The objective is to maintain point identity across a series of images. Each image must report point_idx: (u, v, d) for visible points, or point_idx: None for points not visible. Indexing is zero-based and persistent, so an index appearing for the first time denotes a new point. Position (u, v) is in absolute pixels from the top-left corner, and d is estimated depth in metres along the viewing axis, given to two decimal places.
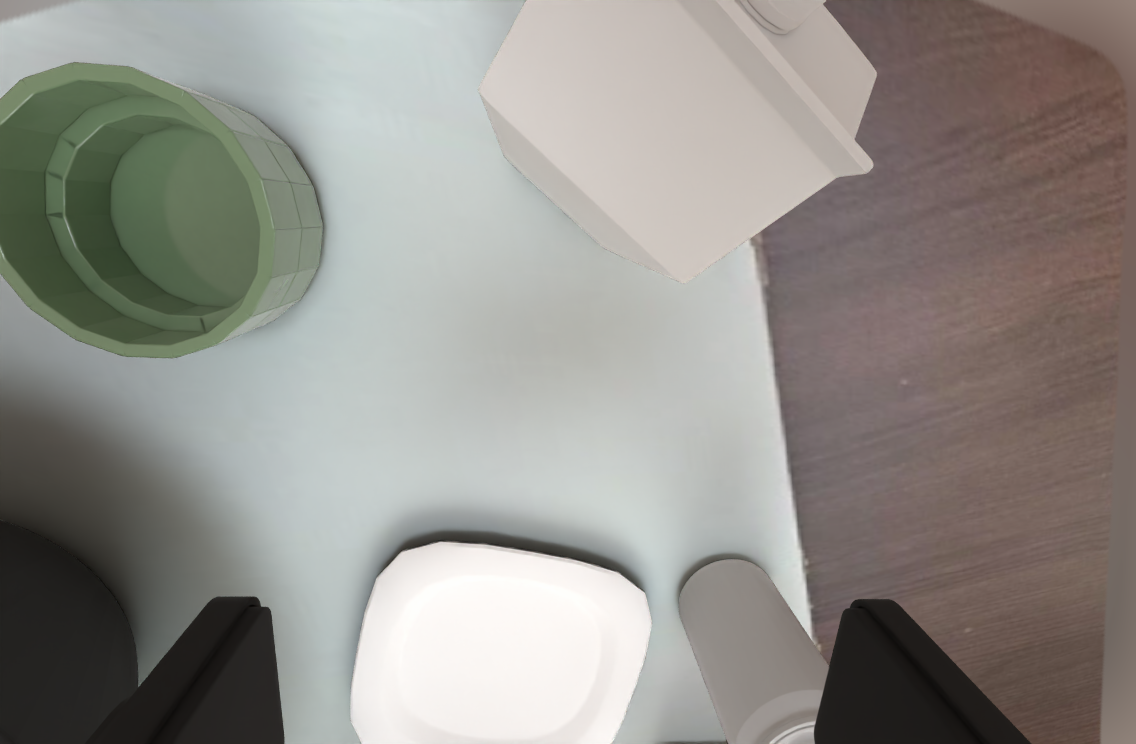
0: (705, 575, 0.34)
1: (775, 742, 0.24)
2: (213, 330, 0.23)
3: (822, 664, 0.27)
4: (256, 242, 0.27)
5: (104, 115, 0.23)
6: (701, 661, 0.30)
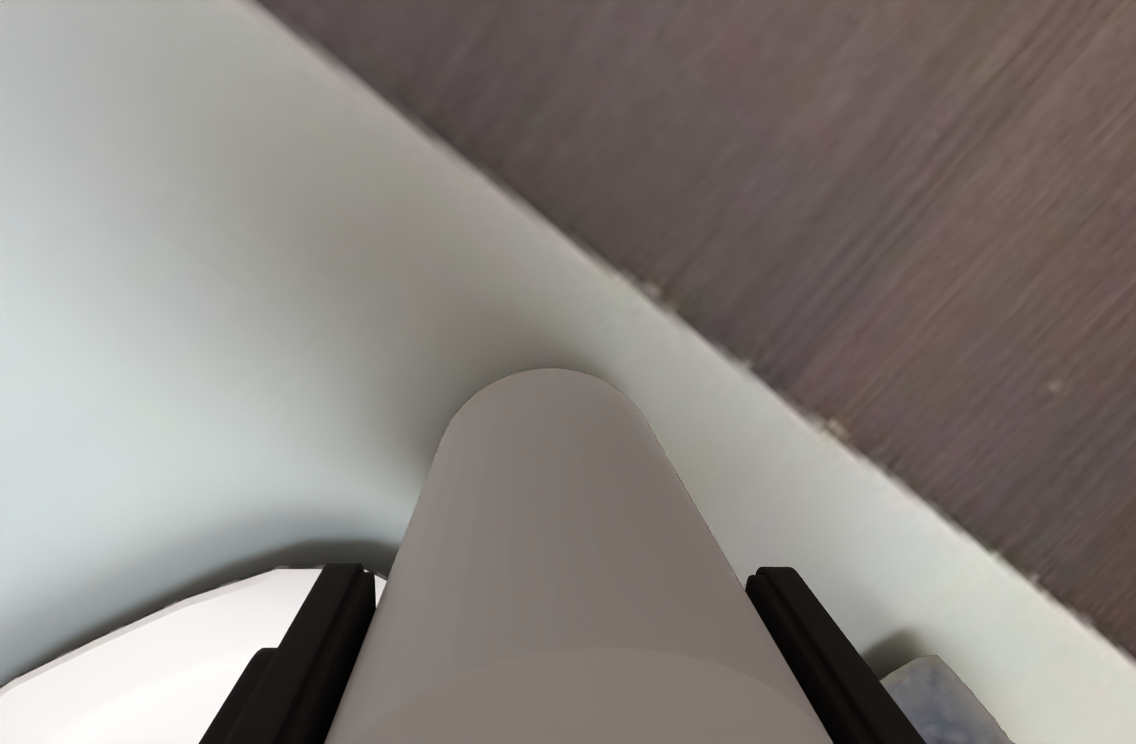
0: None
1: None
2: None
3: (550, 535, 0.07)
4: None
5: None
6: None
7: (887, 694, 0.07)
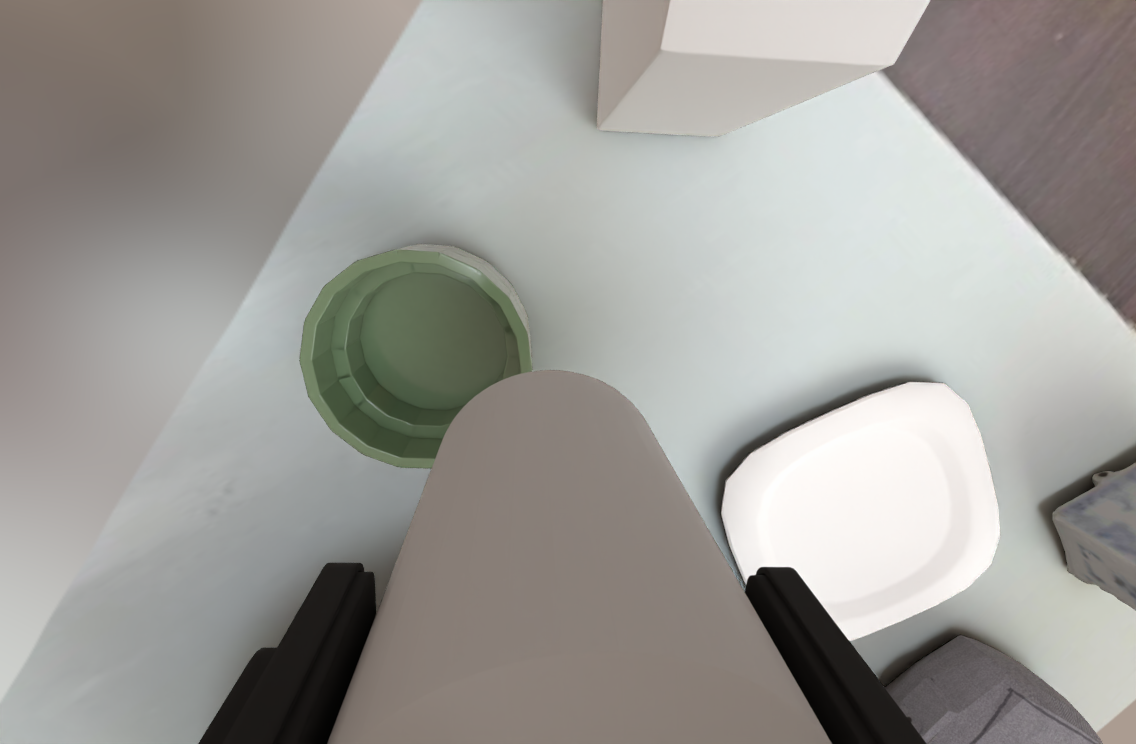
0: None
1: None
2: None
3: (551, 539, 0.07)
4: (476, 330, 0.32)
5: (346, 313, 0.28)
6: None
7: (887, 694, 0.07)
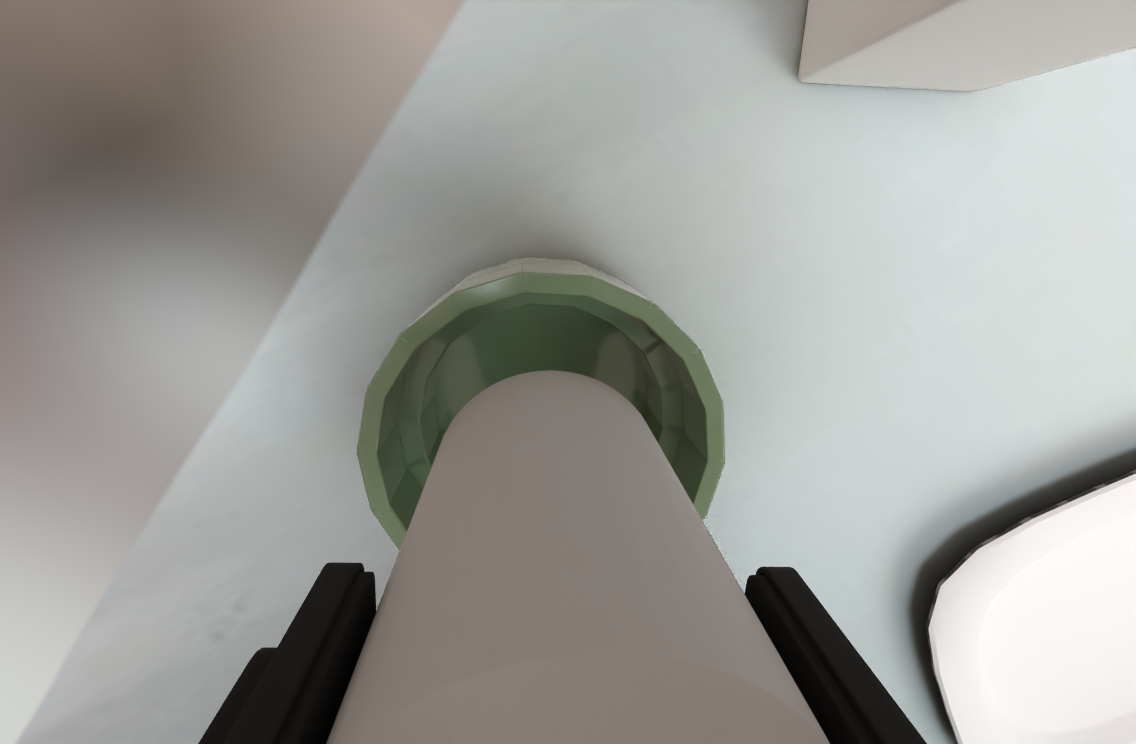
0: None
1: None
2: (694, 504, 0.17)
3: (550, 540, 0.07)
4: None
5: (422, 368, 0.18)
6: None
7: (887, 694, 0.07)
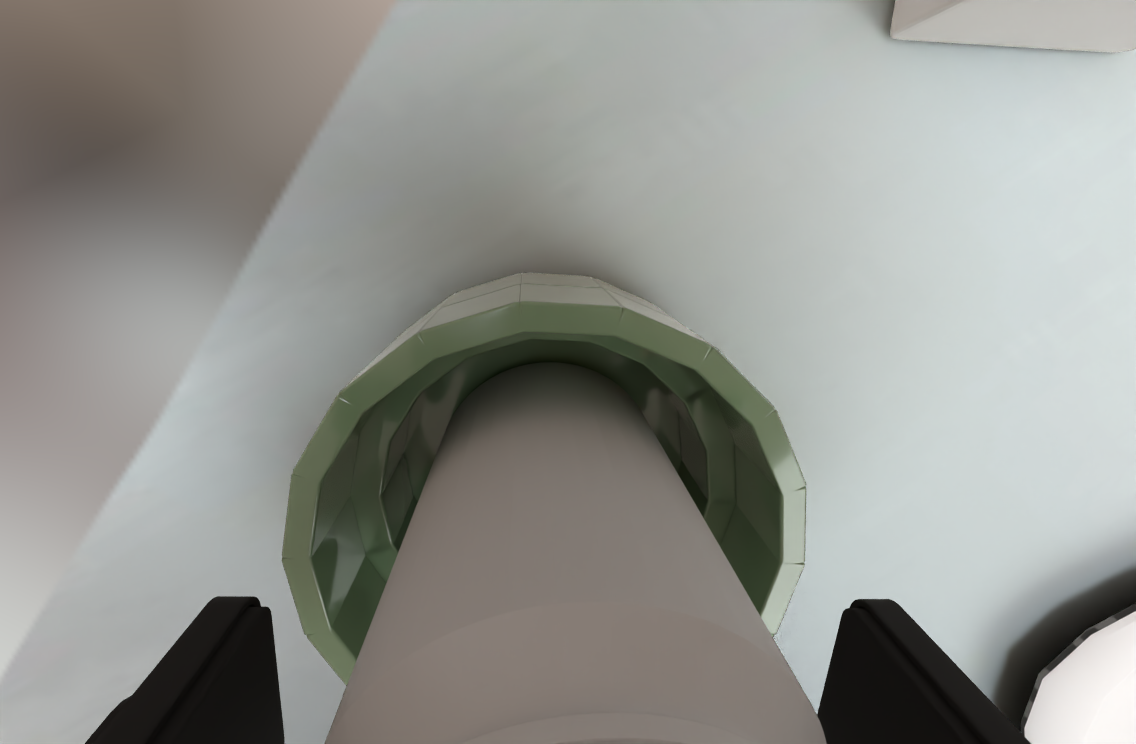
0: None
1: None
2: None
3: (549, 509, 0.08)
4: None
5: (384, 426, 0.13)
6: None
7: None
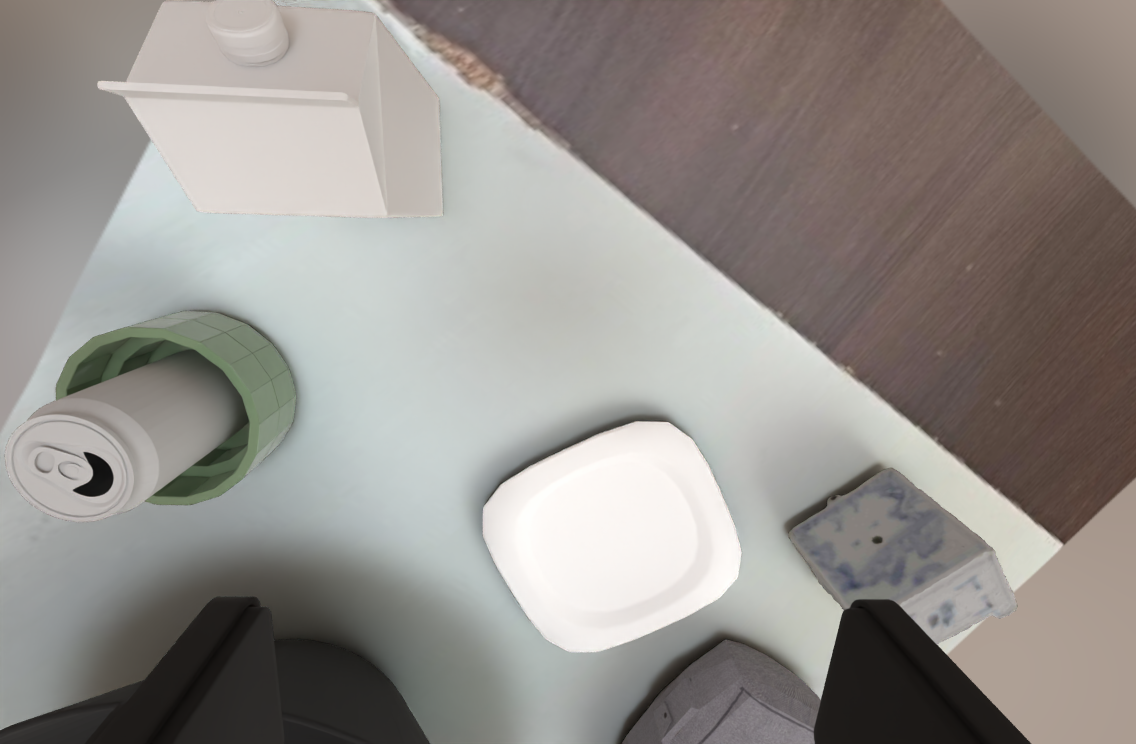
0: None
1: (16, 470, 0.25)
2: (248, 446, 0.33)
3: (99, 386, 0.28)
4: None
5: (111, 374, 0.33)
6: None
7: None
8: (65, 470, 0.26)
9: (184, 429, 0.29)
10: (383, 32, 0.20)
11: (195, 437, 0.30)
